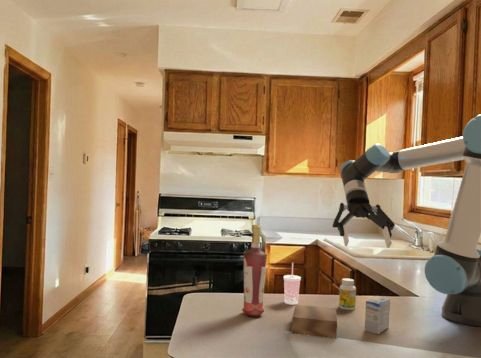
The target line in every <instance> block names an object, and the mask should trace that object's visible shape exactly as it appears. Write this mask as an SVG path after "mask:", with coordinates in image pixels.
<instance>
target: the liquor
mask: <svg viewBox="0 0 481 358" xmlns="http://www.w3.org/2000/svg"><path fill="white" fill-rule="evenodd" d="M251 227H252V228H251V232H252V237H251V246H250V249H248V250H247V251H245V252H244V253H243V308H241V310H242V312H243V313H244V314H245V315H246V316H247V317H252V318H259V317H260V316H261V315H262V314H263V313H264V312H265V310H264V294H265V283H266V282H265V281H266V271H267V260H268V259H267V257H268V254H266V252H265V251H264V250H261V236H260V234H261V229H262V228H261V225H260V224H252V225H251Z"/></svg>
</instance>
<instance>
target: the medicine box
mask: <svg viewBox="0 0 481 358" xmlns="http://www.w3.org/2000/svg"><path fill="white" fill-rule="evenodd" d="M390 307H391V300H390V298H387V297H384V296H379V295H375V296H374V297H372V298H369V299H367V300H366V301H365V312H364V331H366V332H369V333H373V334H377V335H380V334H381V333H382V332H384V331H386V329H388V328H389V326H390V325H389V324H390V309H391V308H390Z"/></svg>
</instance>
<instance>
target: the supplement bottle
mask: <svg viewBox="0 0 481 358" xmlns="http://www.w3.org/2000/svg"><path fill="white" fill-rule="evenodd" d="M356 297H357V288H356V286H355V280H354V278H353V279H352V278H348V277H347V278H342V279H341V285H340V286H339V300H338V301H339V303H338V305H339V306H338V307H339V308H340V309H342V310H345V311H346V310H347V311H351V310H352V311H354V310H355V309H356V303H357V301H356V300H357V299H356Z"/></svg>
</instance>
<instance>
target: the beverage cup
mask: <svg viewBox="0 0 481 358" xmlns="http://www.w3.org/2000/svg"><path fill="white" fill-rule="evenodd" d="M301 281H302V276H299V275H295V274H294V262H291V274H285V275H283V288H284V289H283V290H284V293H283V294H284V296H283V297H284V303H285V304H287V305H294V306H295V305H299V294H300V285H301Z"/></svg>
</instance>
